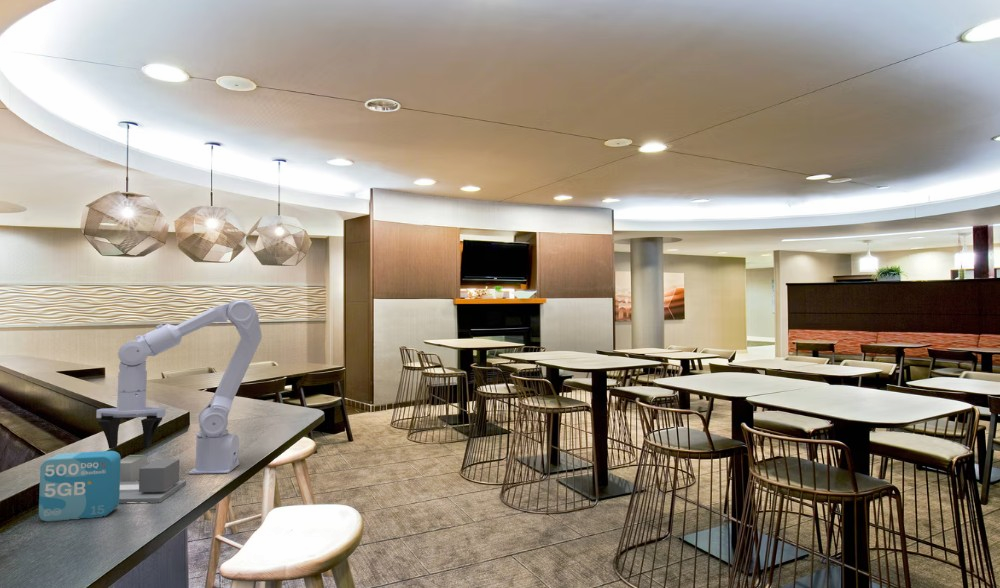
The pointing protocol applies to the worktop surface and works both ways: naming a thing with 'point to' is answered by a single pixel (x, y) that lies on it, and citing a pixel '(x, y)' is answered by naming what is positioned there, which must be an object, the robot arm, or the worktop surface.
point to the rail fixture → (153, 483)
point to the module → (131, 467)
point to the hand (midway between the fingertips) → (130, 447)
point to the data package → (79, 485)
